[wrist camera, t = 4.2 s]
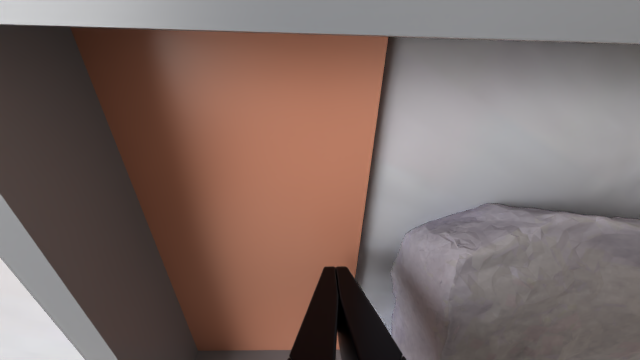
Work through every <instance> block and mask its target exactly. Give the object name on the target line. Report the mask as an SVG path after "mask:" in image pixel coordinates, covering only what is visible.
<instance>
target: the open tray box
mask: <svg viewBox="0 0 640 360" xmlns="http://www.w3.org/2000/svg"><path fill="white" fill-rule="evenodd" d="M388 37H406V38H440V39H474V40H508V41H542V42H575V43H609V44H640V0H0V258H1V259H2V260H3V261H4V263H5V264H6V265H7V266H8V267H9V269H10V270H11V271H12V272H13V273H14V275H15V276H16V277H17V278H18V279H19V281H20V282H21V283H22V284H23V286H24V287H25V288H26V289H27V290H28V292H29V293H30V294H31V295H32V296H33V298H34V299H35V300H36V301H37V302H38V304H39V305H40V306H41V307H42V308H43V310H44V311H45V312H46V313H47V314H48V316H49V317H50V318H51V319H52V320H53V322H54V323H55V324H56V325H57V326H58V328H59V329H60V330H61V331H62V332H63V334H64V335H65V336H66V337H67V338H68V340H69V341H70V342H71V343H72V344H73V346H74V347H75V348H76V349H77V350H78V352H79V353H80V354H81V355H82V356H83V358H84V359H85V360H287V359H288V358H289V354H290V352H291V349H292V347H293V344H294V342H295V339H296V337H297V334H298V332H299V329H300V326H301V324H302V321H303V319H304V316H305V314H306V311H307V309H308V306H309V304H310V301H311V298H312V296H313V293H314V291H315V288H316V286H317V283H318V281H319V278H320V276H321V273H322V270H323V268H324V267H325V266H334V267H335V268H336V267H337V266H346V267H347V268H348V269H349V270H350V272H351V274H352V275H353V277H354V278H355V274H356V267H357V260H358V253H359V245H360V238H361V231H362V224H363V216H364V209H365V202H366V195H367V187H368V180H369V173H370V166H371V158H372V151H373V144H374V137H375V129H376V122H377V115H378V108H379V100H380V93H381V86H382V79H383V71H384V64H385V57H386V50H387V43H388ZM336 360H341V354H340V348H339V342H338V335H337V345H336Z"/></svg>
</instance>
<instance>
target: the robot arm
mask: <svg viewBox="0 0 640 360" xmlns="http://www.w3.org/2000/svg"><path fill="white" fill-rule="evenodd" d="M337 335H338V342H339V348H340V354H341V360H406V358H405V357H404V356H402V355H403V354H402V352H401V350H400V349H399V347H398V346H397V344H396V343H395V341H394V339H393V338H392V336H391V335H390V333H389V332H388V330H387V328H386V327H385V325H384V324H383V322H382V321H381V319H380V317H379V316H378V314H377V313H376V311H375V310H374V308H373V306H372V305H371V303H370V302H369V300H368V299H367V297H366V295H365V294H364V292H363V291H362V289H361V288H360V286H359V285H358V283H357V281H356V280H355V278H354V277H353V275H352V274H351V272H350V270H349V269H348V268H347V267H346V266H337V267H336V268H335V267H334V266H325V267H324V268H323V270H322V273H321V276H320V278H319V281H318V283H317V286H316V288H315V291H314V293H313V296H312V298H311V301H310V304H309V306H308V309H307V311H306V314H305V316H304V319H303V321H302V324H301V326H300V329H299V332H298V334H297V337H296V339H295V342H294V344H293V347H292V349H291V352H290V354H289V358H288V359H287V360H336V345H337Z"/></svg>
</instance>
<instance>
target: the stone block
mask: <svg viewBox="0 0 640 360" xmlns="http://www.w3.org/2000/svg"><path fill="white" fill-rule="evenodd" d="M390 274H391V277H392V282H393V290H392V292H393V294H394V296H395V298H396V302H395V308H394V310H393V314H392V338H393V339H394V341H395V343H396V344H397V346H398V347H399V349H400V350H401V352H402V354H403V355H402V356H404V357H405V358H406V360H640V219H627V218H622V217H612V218H608V217H604V216H595V215H582V214H574V213H570V212H559V211H549V210H543V209H537V208H519V207H511V206H505V205H501V204H488V203H487V204H484V205H481V206H479V207H476V208H474V209H470V210H467V211H464V212H460V213H456V214H452V215H449V216H446V217H444V218H441V219H438V220H434V221H430V222H427V223H425V224H423V225H421V226H418V227H416V228H414V229H412V230H411V231H409V232H408V233H406V234H405V236H404V238H403V240H402V242H401V247H400V250H399V252H398V255H397V257H396V259H395V261H394V263H393V267H392V269H391V272H390Z"/></svg>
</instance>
